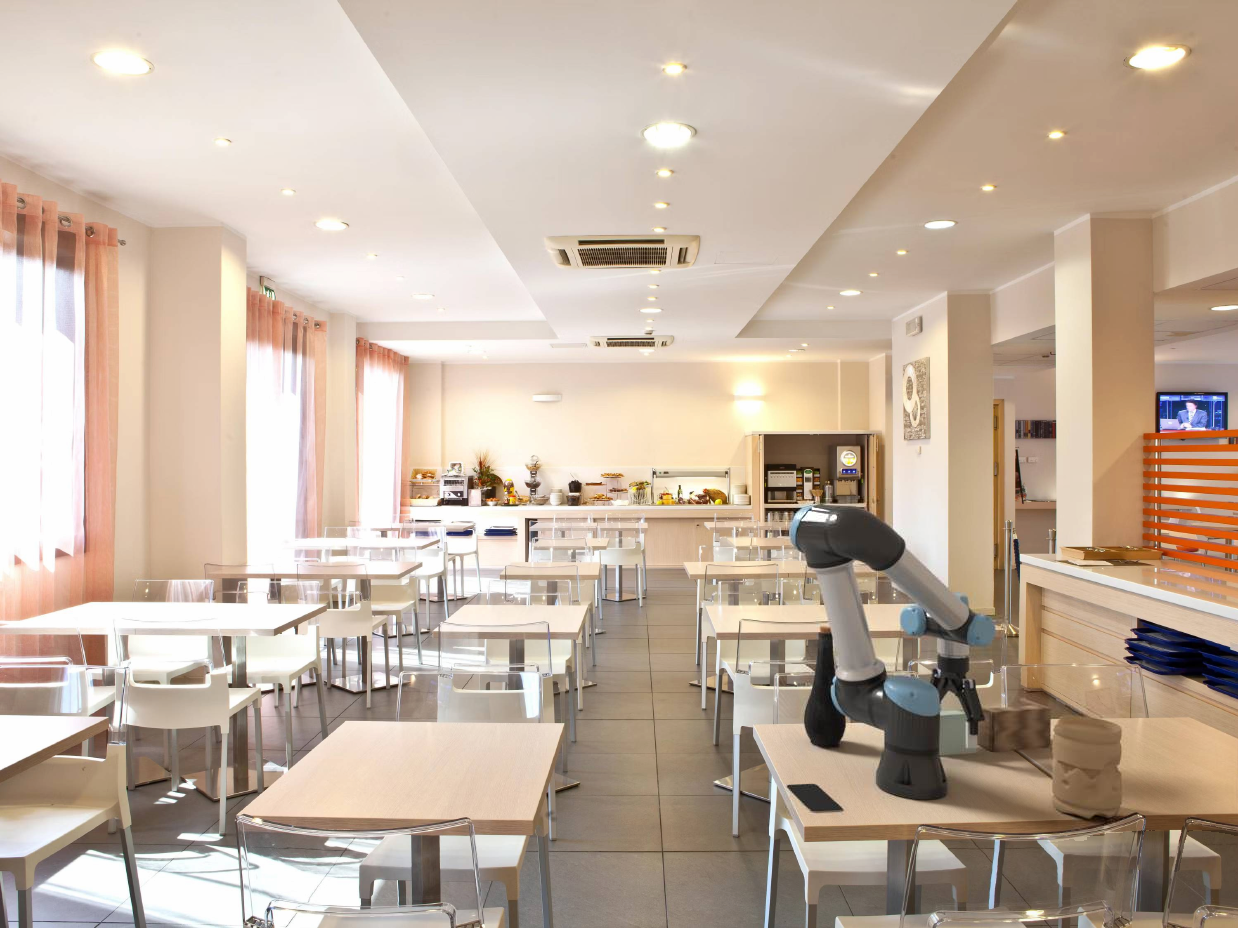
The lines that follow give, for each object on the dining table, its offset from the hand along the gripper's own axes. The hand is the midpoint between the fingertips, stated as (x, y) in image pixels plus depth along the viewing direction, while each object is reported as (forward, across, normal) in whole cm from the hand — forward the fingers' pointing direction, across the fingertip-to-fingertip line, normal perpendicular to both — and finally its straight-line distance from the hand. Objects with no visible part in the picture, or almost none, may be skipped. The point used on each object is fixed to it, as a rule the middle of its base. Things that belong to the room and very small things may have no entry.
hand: (953, 738), depth 208 cm
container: (+3, -39, -3) cm, 39 cm away
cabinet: (+3, +6, -19) cm, 20 cm away
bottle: (+3, +13, +29) cm, 32 cm away
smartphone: (+3, -20, +50) cm, 54 cm away
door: (+3, 0, 0) cm, 3 cm away
